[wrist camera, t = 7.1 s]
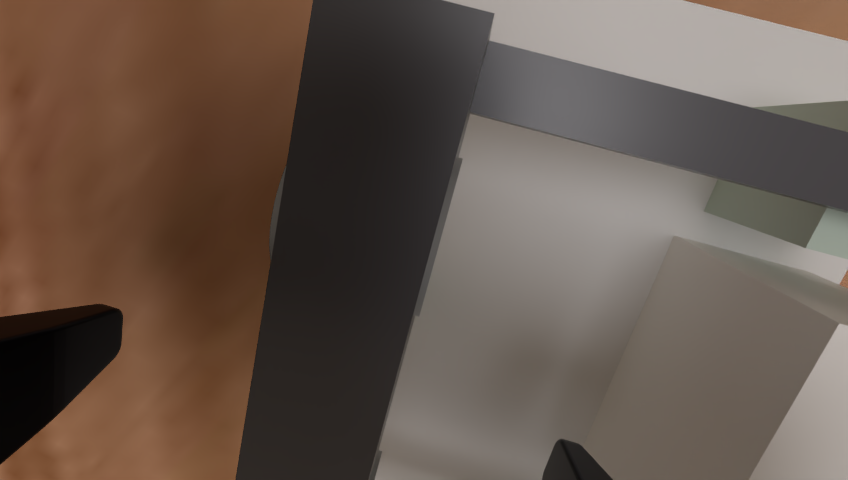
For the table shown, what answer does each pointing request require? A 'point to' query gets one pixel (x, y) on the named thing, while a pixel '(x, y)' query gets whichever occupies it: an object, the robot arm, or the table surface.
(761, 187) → the glasses
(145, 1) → the table surface
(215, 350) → the table surface
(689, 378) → the display stand
